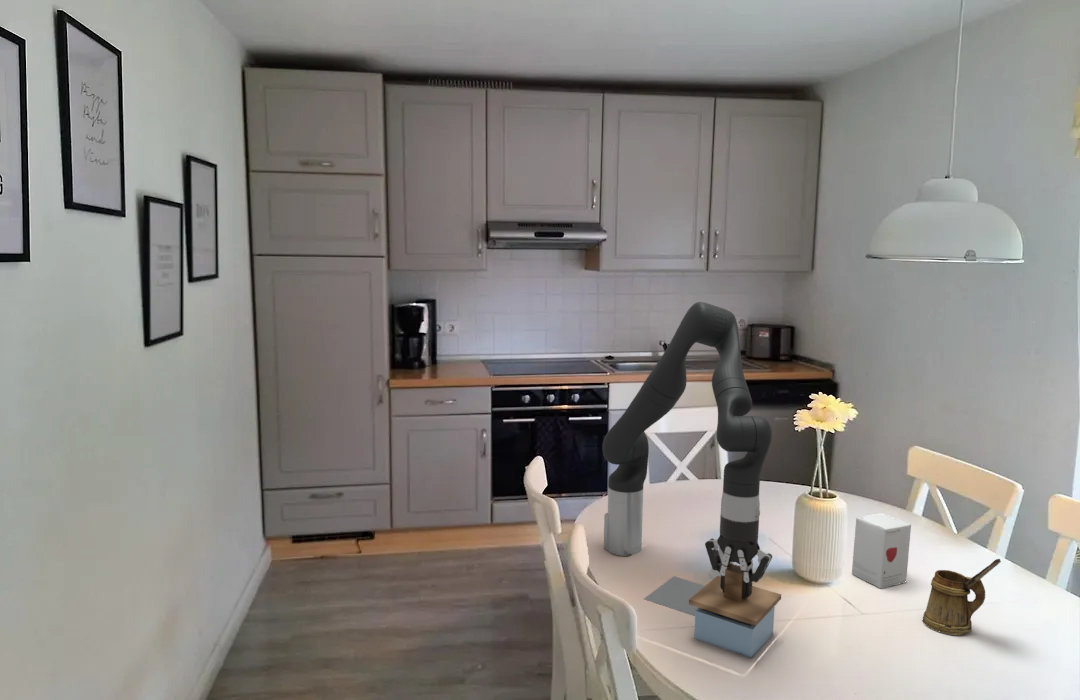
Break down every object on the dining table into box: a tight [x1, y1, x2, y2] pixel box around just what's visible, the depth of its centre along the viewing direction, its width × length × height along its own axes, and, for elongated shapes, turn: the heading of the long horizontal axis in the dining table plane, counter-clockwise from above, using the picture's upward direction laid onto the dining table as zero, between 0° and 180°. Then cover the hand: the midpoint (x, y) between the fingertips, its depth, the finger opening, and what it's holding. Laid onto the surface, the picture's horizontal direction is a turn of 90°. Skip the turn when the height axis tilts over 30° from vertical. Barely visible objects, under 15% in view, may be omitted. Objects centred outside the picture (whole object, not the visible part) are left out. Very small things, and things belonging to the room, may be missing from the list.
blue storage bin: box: [693, 605, 776, 659], centre depth 148 cm, size 12×12×6 cm
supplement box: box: [851, 512, 912, 589], centre depth 176 cm, size 9×9×15 cm
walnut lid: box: [689, 563, 782, 626], centre depth 147 cm, size 14×14×7 cm
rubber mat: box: [643, 575, 706, 617], centre depth 166 cm, size 15×15×1 cm
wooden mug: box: [922, 558, 1001, 636], centre depth 152 cm, size 9×14×18 cm, turn 38°
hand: (735, 594), depth 148 cm, fingers closed on walnut lid, 3 cm apart
